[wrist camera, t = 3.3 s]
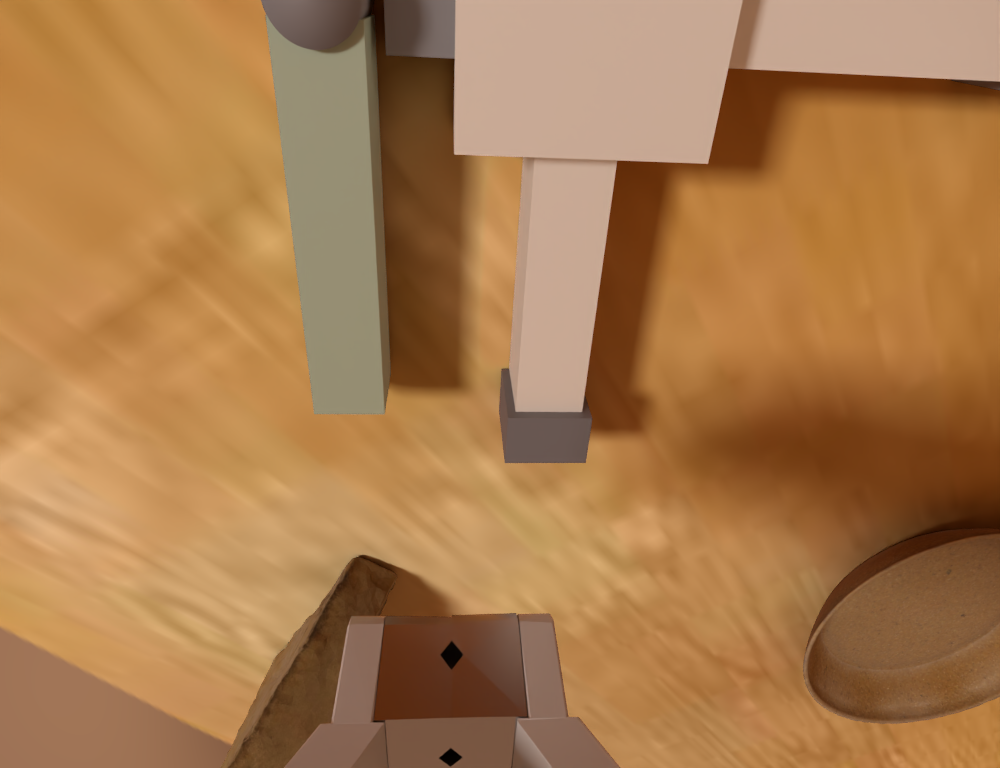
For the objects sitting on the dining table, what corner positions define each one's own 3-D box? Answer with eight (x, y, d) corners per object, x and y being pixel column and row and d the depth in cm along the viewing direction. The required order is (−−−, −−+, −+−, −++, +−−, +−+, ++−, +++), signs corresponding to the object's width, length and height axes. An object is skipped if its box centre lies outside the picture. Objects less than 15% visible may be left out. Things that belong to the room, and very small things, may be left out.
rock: (327, 541, 27) (142, 661, 28) (411, 752, 23) (196, 878, 25) (433, 553, 37) (293, 641, 38) (503, 703, 33) (347, 795, 34)
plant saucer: (802, 516, 32) (829, 557, 29) (1104, 479, 32) (1153, 517, 29) (767, 695, 39) (786, 738, 37) (1009, 665, 39) (1042, 706, 37)
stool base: (403, 410, 26) (396, 473, 23) (355, -988, 11) (313, -1407, 8) (869, 412, 28) (926, 472, 25) (1383, -807, 13) (1720, -1091, 9)
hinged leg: (282, -62, 18) (252, -70, 15) (371, -57, 18) (357, -63, 15) (327, 370, 25) (312, 418, 22) (391, 371, 25) (383, 419, 22)
